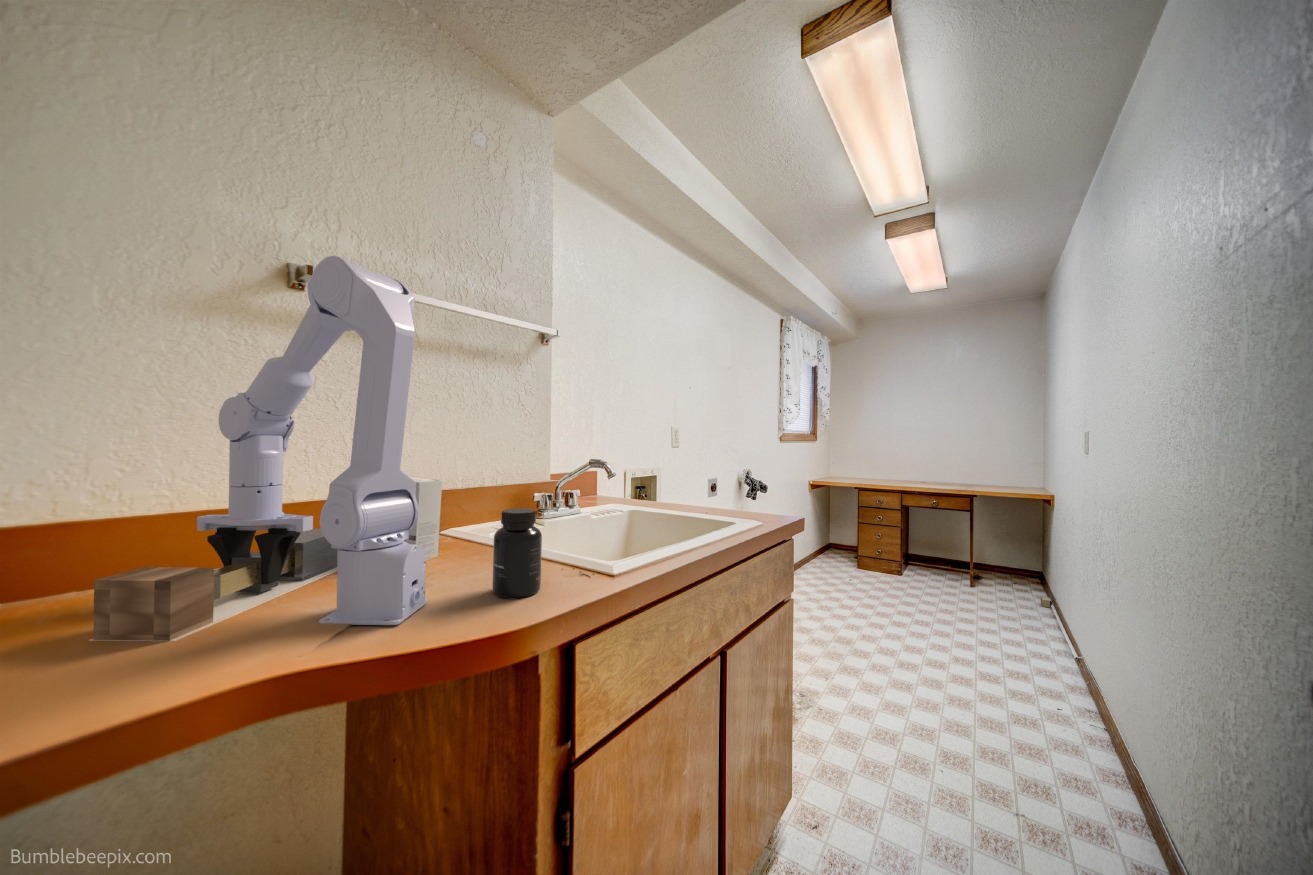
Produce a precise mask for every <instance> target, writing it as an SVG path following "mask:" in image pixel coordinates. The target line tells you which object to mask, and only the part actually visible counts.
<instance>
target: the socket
mask: <svg viewBox="0 0 1313 875" xmlns="http://www.w3.org/2000/svg"><path fill="white" fill-rule="evenodd" d="M214 570H215V567H176V566H175V567H173V566H171V567H169V566H168V567H167V566H166V567H163V566H162V567H161V566H160V567H159V566H156V567H155V566H153V567H152V566H148V567H147V566H144V567H141V568H136V569H131V570H128V571H125V572H121V573H116V574H113V575H110V576H109V575H108V576H106V577H102V578H97V579H94V581H93V584H94V585H93V634H92V636H93V637H92V639H93V640H143V641H142V642H171V641H170V640H173V639H175V638H177V637H180V636H182V635H184V634H187V633H189V632H191V631H194V630H196V629H198V628H201V627H203V626H205V625H208V624H210V623H212V622H213V603H214Z"/></svg>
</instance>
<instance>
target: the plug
mask: <svg viewBox="0 0 1313 875" xmlns="http://www.w3.org/2000/svg"><path fill="white" fill-rule="evenodd" d="M292 570H295V547H292V548H291V550H290V552H289V554H288V556H287V558H286V561H285V563H284V566H283V569H282V572H281V574H284V573H287V572H289V571H292ZM276 586H278V581H276V582H273V583H271V584H263V580H262V562H261V556H260V551H250V552H249V553H245V554H242V555H238V556H235V557H232V565H229V566H225V567H224V566H223V567H219V568H215V569H214V600H216V599H219V598H220V597H223V596H225V595H228V594H231V593H233V592H254V593H261V592H263V591H266V590H268V589H271V588H273V587H276Z"/></svg>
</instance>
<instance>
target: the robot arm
mask: <svg viewBox="0 0 1313 875" xmlns="http://www.w3.org/2000/svg"><path fill="white" fill-rule="evenodd" d="M306 289H307V296H308V301H309V303H310V305H309V306H308V307H307V311H306V312H305V314H304V316H303V318H302V319H301V321H300V324H299V325H298V327H297V329H296V331H295V332H294V334H293V336H292V337H291V340H290V342H289V344H288V346H287V348H286V349H285V352H284V353H283V355H282V356H275V357H271V358H269V359H267V360H266V362H265V363H264V365H263V366H262V368H260V370H259V371H258V373H257V375H256V376H255V377H254V379H253V380H252V382H251V383H250V385H249V387H248V388H247V390H246V391H244V392H238V393H237V394H236V396H232V397H231V396H230V397H228V398H227V399H225V400H224V402H223V404H222V406H221V408H220V410H219V413H218V426H219V430H220V432H221V434H222V435H223V437H224V438H226V439H227V440H229V454H228V455H229V456H228V457H229V459H228V460H229V466H228V470H229V471H228V477H229V478H228V514H227V513H226V514H207V515H201V516H197V517H196V531H197V532H204V531H209V530H210V531H216V532H214V534H211V535H208V536H207V537H206V538H207V540H206V541H207V543H208V544H209V545H210V546H211V547H212V548H213V549H214V551H215V552H216V553H217V555H218V557H219V559H220V560H221V563H222V565H223V567H225V566H229V565H232V557H235V556H238V555H242V554H245V553H249V552H251V549H252V545H253V541H254V540H255V542H256V544H257V548H258V552H260V556H261V562H262V580H263V584H271V583H273V582H276V581H278V580H279V579H280V576H281V572H282V569H283V566H284V563H285V561H286V558H287V556H288V554H289V552H290V550H291V548H292V546H293V544H294V543H295V541H296V540H297V538H298V537H299V536H300V532H305V531H308V530H312V529H314V516H313V515H301V514H300V515H298V514H292V513H291V514H290V513H289V514H288V513H285V512H284V511H283V479H284V478H283V475H284V474H283V470H284V469H283V468H284V467H283V466H284V458H283V457H284V453H285V452H287V450H288V449H289V438H290V436H291V435H292V433H293V430H294V429H295V420H294V419H293V413H294V412H295V411H296V410H297V408H298V407H299V405H300V404H301V402H302V401H303V399H304V398H305V397H306V395H307V394H308V392H309V391H310V390H311V388H312V387H313V386H314V384H315V380H316V379H315V376H314V373H313V369H314V367H316V365H317V364H319V362H320V361H321V360H322V359H323V357H325V355H326V354H327V353H328V352H329V351H330V349H331V348H332V347H333V346H334V345H335V344H336V342H337V341H338V340H339V339H340V338H341V337H342V336H343V335H344V334H345V332H351V331H355V332H356V334H357V335H358V336H359V337H360V338H361V340H362V351H361V359H360V360H361V361H360V370H359V371H360V372H359V377H358V378H359V379H358V380H359V381H358V389H357V397H356V409H355V419H354V424H353V425H354V427H353V435H352V436H353V438H352V444H351V445H352V446H351V455H350V464H349V466H348V467H347V468H346V469H345V470H344V471H343V472H341V474H339V475H338V476H337V477H336V478H335V479H333V480H332V481H330V483H329V487H328V488H329V489H328V495H327V498H326V501H325V502H324V504H323V506H322V509H321V511H320V516H319V526H320V528H319V529H321V531H322V533H323V535H324V537H325V538H326V540H327V541H328V542H329V543H330V544H331V548H335V549H337V571H336V607H335V609H336V610H335V611H333V612H331V613H329V614H327V615H326V616H324V617H322V618H321V619H318V624H328V625H329V624H331V625H332V624H341V625H342V624H344V625H345V624H346V625H347V624H349V625H351V626H356V625H357V626H397V625H400V624H401V623H402V622H404V621H405V620H406V619H408V618H409V617H411V616H412V615H413V614H414V613H416V612H418V610H420V609H421V608H422V607H424V606H425V605H426V604H428V602H429V600H428V598H426V578H427V577H426V574H427V569H426V566H427V562H426V561H427V560H426V557H425V552H424V550H423V548H422V547H421V546H419V545H413V544H408V543H406V542H404V540H406V539H408V533H409V531H410V530H411V529H412V528H413V527H414V526H415V524H416V522H417V520H418V514H419V508H418V503H417V500H416V495H415V490H416V482H415V481H414V480H413V479H411V478H410V476H409V475H408V474H406V473H405V472H404V471H403V470H402V469H401V465H402V464H401V463H402V457H403V456H402V454H403V446H404V437H405V428H406V419H407V409H408V400H409V392H410V383H411V372H412V365H413V355H414V345H415V338H416V337H415V336H416V334H415V332H416V331H415V326H414V322H413V319H414V311H415V310H414V308H415V303H416V302H415V300H416V296H415V295H414V293H413V292H412V291H411V290H410V289H409V288H408V287H407V286H406V285H405V284H404V283H403V282H402V281H400V280H399V279H396V278H391V277H388V276H386V275H383V274H380V273H377V272H376V271H373V270H371V269H368V268H365V267H363V266H360V265H357V264H354V263H352V262H349V261H347V260H346V259H344V258H342V257H340V256H336V255H330V256H327V257H325V258H324V259H321V261H319V262H318V264H316V266H315V267H314V269H313V272H312V274H311V278H310V279H309V280H308V281H307V287H306ZM257 531H266V532H265V533H259V534H256V532H257Z"/></svg>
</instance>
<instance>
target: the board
mask: <svg viewBox="0 0 1313 875" xmlns="http://www.w3.org/2000/svg"><path fill="white" fill-rule="evenodd" d="M335 572H336V573H337V567H336V568H334V569H331V570H329V571H326V572H324V573H322V574H319V575H317V576H314V577H312V578H310V579H307V580H305V581H278V586H276V587H273V588H271V589H268V590H266V591H263V592H261V593H254V592H233V593H231V594H228V595H225V596H223V597H220V598H219V599H216V600H214V603H213V622H212V623H210V624H208V625H205V626H203V627H201V628H198V629H196V630H194V631H191V632H189V633H187V634H184V635H182V636H180V637H177V638H175V639H173V640H170V641H169V642H177V641H178V640H181V639H182V638H185V637H188V636H190V635H193V634H195V633H197V632H199V631H201V630H205V629H206V628H208V627H211V626H213V625H216V624H217V623H220V622H222V621H225V620H227V619H230V618H231V617H234V616H236V615H238V614H241V613H244V612H245V611H249V610H250V609H252V608H255V607H258V606H260V605H262V604H264V603H267V602H268V601H271V600H274V599H275V598H278V597H280V596H282V595H284V594H287V593H289V592H292V591H294V590H296V589H299V588H301V587H304V586H305V585H308V584H311V583H313V582H315V581H317V580H320V579H322V578H324V577H326V576H330V575H331V574H333V573H335ZM88 641H89V642H90V641H91V642H92V641H94V642H95V641H96V642H98V641H99V642H101V641H102V642H105V641H106V642H108V641H109V642H110V641H112V642H114V641H115V642H122V641H123V642H124V641H125V642H144V641H143V640H93V638H91V639H88Z"/></svg>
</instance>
